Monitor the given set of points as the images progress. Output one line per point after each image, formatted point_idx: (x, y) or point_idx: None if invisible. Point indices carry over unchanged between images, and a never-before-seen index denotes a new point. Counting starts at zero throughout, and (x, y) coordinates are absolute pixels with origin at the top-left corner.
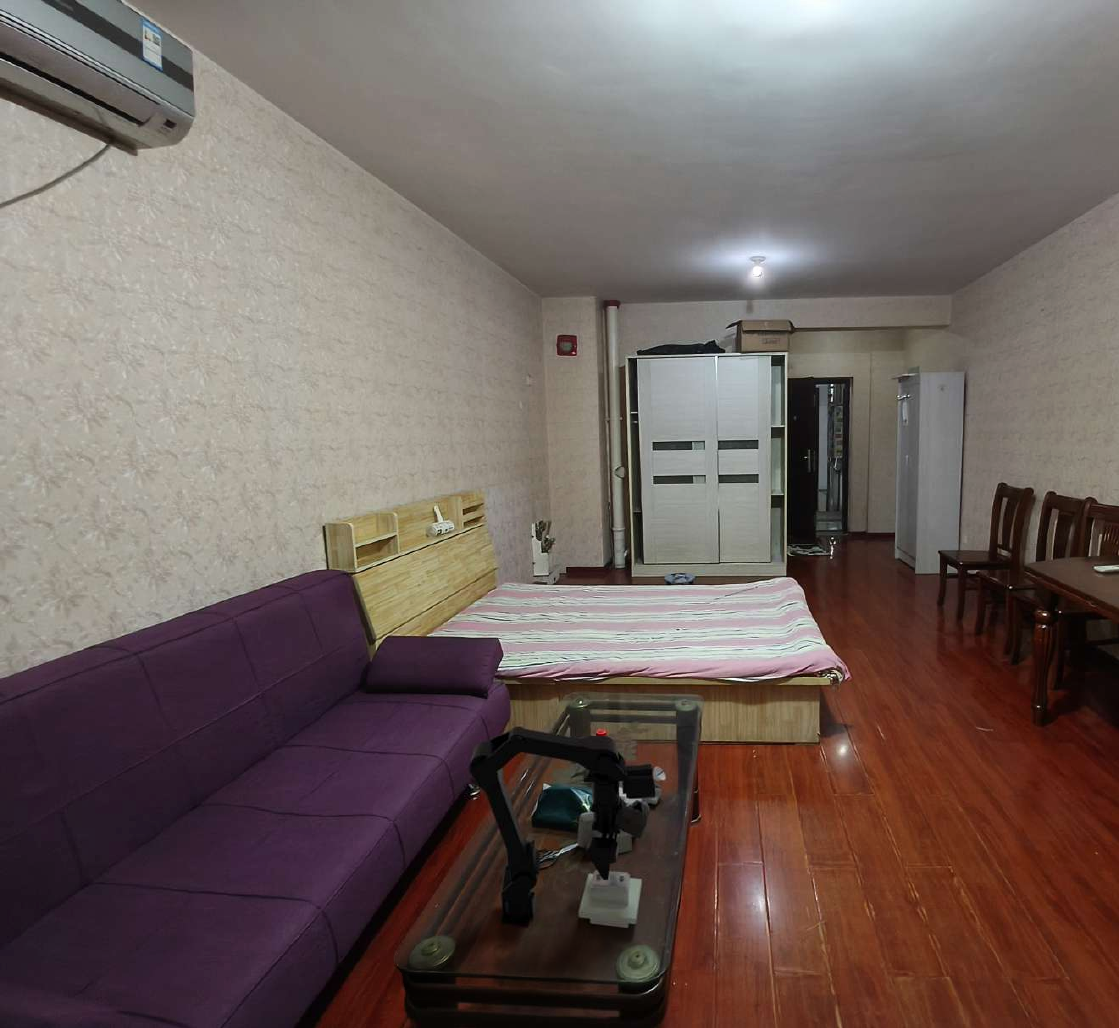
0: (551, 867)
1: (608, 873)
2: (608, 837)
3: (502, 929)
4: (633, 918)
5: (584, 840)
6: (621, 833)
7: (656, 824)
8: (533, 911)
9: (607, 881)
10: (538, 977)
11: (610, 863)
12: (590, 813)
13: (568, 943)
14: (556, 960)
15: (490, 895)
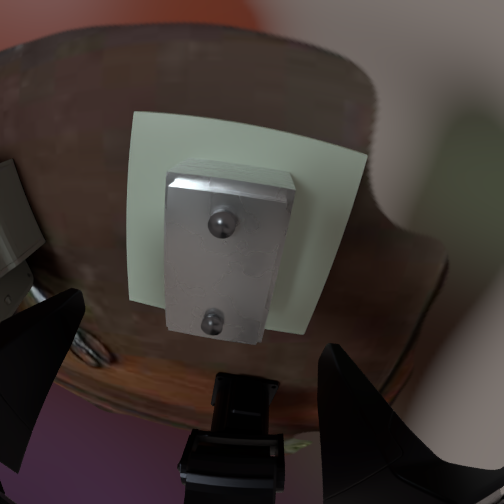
0: (101, 338)
1: (369, 384)
2: (40, 373)
3: (279, 406)
4: (364, 163)
5: (22, 285)
6: None
7: None
8: (256, 388)
9: (240, 292)
10: (400, 356)
11: (417, 451)
12: None
13: (339, 319)
14: (376, 336)
15: (198, 416)
